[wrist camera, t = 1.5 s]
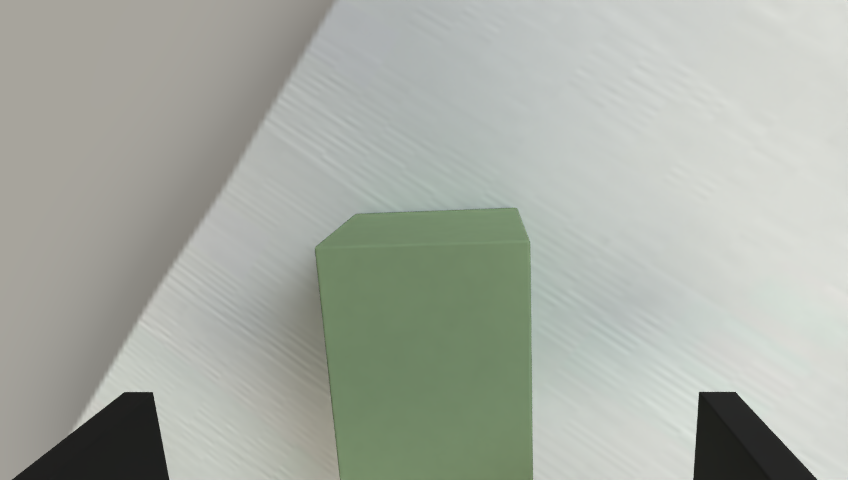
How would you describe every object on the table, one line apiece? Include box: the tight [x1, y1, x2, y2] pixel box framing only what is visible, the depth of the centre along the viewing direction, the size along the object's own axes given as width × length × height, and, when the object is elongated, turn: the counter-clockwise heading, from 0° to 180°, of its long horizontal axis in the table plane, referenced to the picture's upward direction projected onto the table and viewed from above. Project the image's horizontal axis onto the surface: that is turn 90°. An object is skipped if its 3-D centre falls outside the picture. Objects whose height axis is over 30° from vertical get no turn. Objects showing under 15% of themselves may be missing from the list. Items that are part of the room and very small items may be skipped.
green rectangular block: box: [315, 208, 533, 480], centre depth 18 cm, size 8×6×5 cm
